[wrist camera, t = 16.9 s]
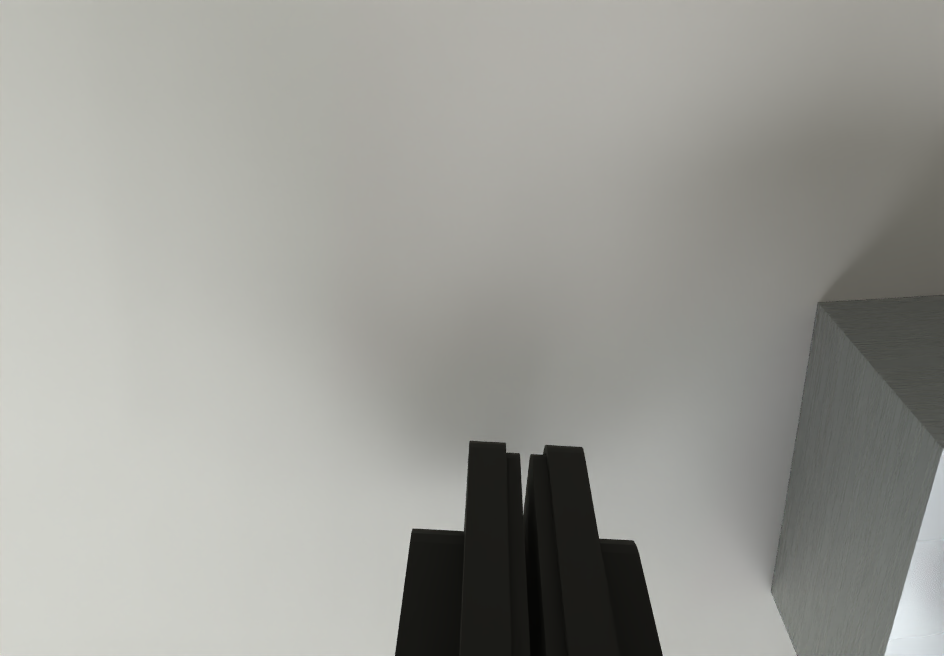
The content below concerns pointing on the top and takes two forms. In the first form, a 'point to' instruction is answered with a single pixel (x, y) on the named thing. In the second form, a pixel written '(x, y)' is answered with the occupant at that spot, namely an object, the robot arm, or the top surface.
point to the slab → (867, 485)
